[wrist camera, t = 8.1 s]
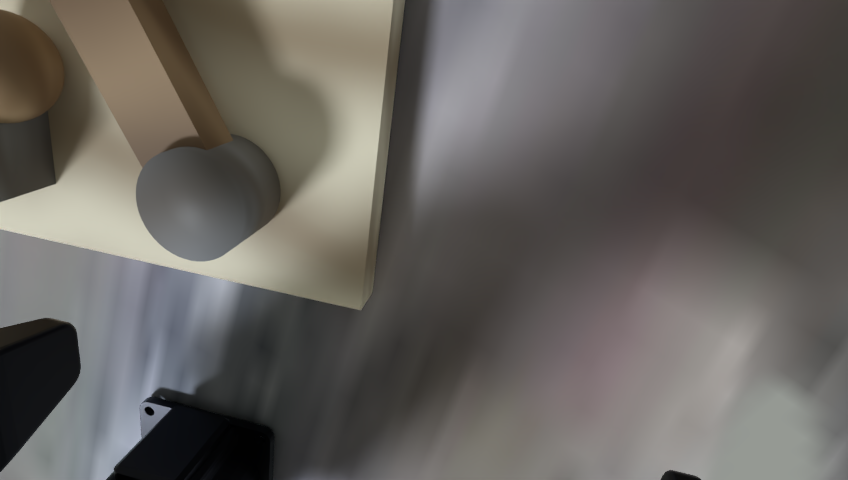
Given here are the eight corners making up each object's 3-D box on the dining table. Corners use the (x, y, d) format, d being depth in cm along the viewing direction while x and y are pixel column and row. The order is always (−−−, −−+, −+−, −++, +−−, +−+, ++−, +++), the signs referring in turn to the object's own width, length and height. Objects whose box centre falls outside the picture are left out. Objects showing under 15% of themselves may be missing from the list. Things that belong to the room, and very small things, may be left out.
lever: (298, 214, 20) (89, 373, 11) (217, 245, 21) (-33, 412, 12) (38, -313, 16) (-634, -747, 7) (-46, -239, 17) (-717, -531, 8)
